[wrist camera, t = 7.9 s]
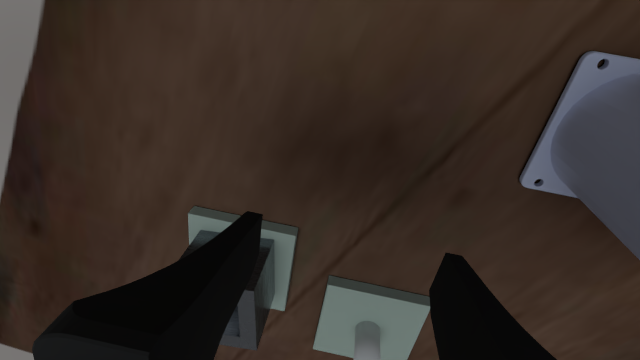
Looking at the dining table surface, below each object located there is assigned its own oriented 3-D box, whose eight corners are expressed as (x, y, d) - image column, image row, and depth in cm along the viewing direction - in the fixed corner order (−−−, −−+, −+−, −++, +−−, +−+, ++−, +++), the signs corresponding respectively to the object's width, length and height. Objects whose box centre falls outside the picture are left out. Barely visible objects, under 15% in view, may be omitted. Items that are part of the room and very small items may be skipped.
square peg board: (429, 296, 27) (438, 348, 23) (401, 358, 31) (406, 411, 27) (329, 275, 28) (322, 322, 24) (314, 339, 32) (306, 388, 28)
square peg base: (298, 227, 26) (285, 270, 22) (286, 301, 30) (273, 349, 26) (194, 206, 26) (162, 244, 22) (196, 281, 30) (170, 325, 26)
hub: (274, 239, 25) (253, 291, 21) (274, 294, 28) (256, 350, 24) (200, 229, 26) (165, 278, 21) (208, 284, 29) (178, 337, 24)
